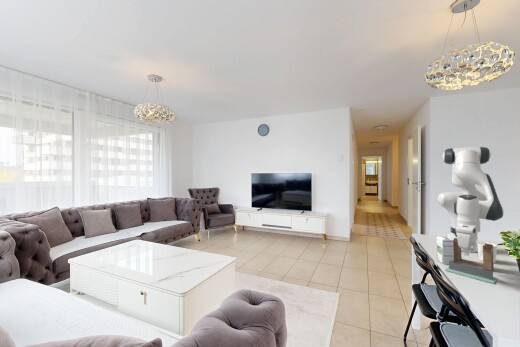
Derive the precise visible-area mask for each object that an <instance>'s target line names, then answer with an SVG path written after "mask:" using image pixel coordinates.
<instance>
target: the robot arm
mask: <svg viewBox="0 0 520 347" xmlns="http://www.w3.org/2000/svg"><path fill="white" fill-rule="evenodd" d="M491 156H492V154H491V151H490V149H489V148H488V147H486V146H485V147H484V146H479V147H477V146H465V147H464V146H463V147H455V148H454V147H451V148H446V149H445V150H444V152H443V153H442V160H443V163H445V164H448V165H452V168H451V169H452V170H451V184H452V185H454V186H455V187H456V188H460V189H461V191H445V192H440V193H439V194H438V196H437V203H438V204H439V205H440V206H441V207H442V208H444V209H445V210H446V211H447V212H448V214H449V217H450V224H451V226H450V229H449V230H450V233H448V234H447V237H448V238H450V239H452V240H454V238H457V239H458V245H459V247H460V248H461V252H463V253H462V254H463V256H465V257H469V256H470V253H478V245H477V243H478V233H479V232H481V220H487V221H493V222H495V221H498V220H500V219H502V218H503V217H504V214H505V213H504V208H503V205H502V204H501V201H500V200H499V197H498V194H497V191H496V188H495V185H494V182H493V180H492V178H491V176H490V174H488V173H485V172H484V171H483V169H482V167H481V165H483V164H487V163H488V162H489V161H490V159H491ZM476 186H479V187H481V188H482V189H483V191H484V193H482V192H481V191H480V190H478V188H477V187H476ZM480 219H481V220H480Z"/></svg>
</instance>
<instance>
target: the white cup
mask: <svg viewBox="0 0 520 347" xmlns="http://www.w3.org/2000/svg"><path fill="white" fill-rule="evenodd" d="M485 243H486V244H492V245H493V264H496V261H497V248H498V246H497V244H495V243H491V242H483V241H479V242H478V241H477V245H478V252H477V254H478V259H479V261H481V262H483V245H485Z"/></svg>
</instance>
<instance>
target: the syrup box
mask: <svg viewBox="0 0 520 347" xmlns="http://www.w3.org/2000/svg"><path fill="white" fill-rule="evenodd" d="M436 252H437V254H436V256H437V257H436V258H437V261H438V262H439V263H441V264H442V265H448V266H449V261H450V260H452V261H454V249H453V240H452V239H450V238H448V236H436Z"/></svg>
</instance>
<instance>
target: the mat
mask: <svg viewBox="0 0 520 347" xmlns="http://www.w3.org/2000/svg"><path fill="white" fill-rule="evenodd" d="M444 271H445V272H448V273H451V274H456V275H458V274H459V276H462V275H463V276H462V277H467V278H469V277H470V279H473V278H474V279H473V280H476V281H480V282H485V283H488V284H492V285H495V283H496V282H497V279H498V277H496V276H494V275H493V279H492V280H489V279H486V278H482V277H478V276H474V275H471V274H467V273H463V272H459V271H455V270H452V269H449V266H447V267H446V268H445V269H444Z"/></svg>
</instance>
